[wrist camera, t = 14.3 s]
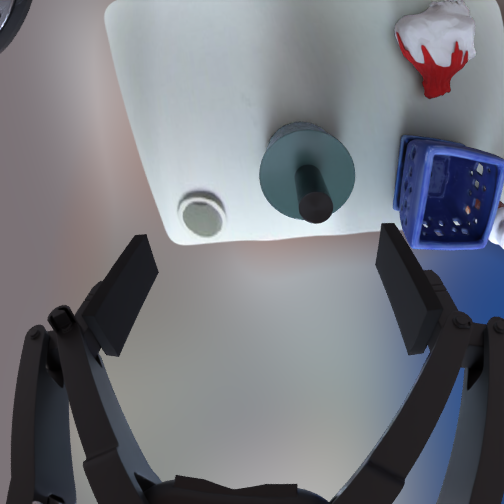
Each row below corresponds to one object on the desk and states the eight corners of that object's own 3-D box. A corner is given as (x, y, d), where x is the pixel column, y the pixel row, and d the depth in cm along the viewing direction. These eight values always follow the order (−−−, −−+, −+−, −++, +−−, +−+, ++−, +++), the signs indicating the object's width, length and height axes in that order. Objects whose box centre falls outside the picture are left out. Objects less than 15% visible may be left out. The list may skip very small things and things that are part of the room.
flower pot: (464, 135, 33) (511, 159, 23) (450, 212, 41) (486, 252, 31) (389, 123, 35) (427, 143, 25) (381, 209, 42) (408, 252, 32)
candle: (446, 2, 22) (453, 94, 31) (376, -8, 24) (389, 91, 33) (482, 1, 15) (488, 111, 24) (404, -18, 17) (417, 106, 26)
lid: (263, 217, 36) (258, 261, 28) (255, 130, 30) (247, 150, 22) (350, 214, 35) (369, 258, 27) (353, 128, 29) (379, 148, 21)
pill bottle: (457, 207, 40) (491, 242, 31) (477, 179, 37) (516, 210, 27) (474, 225, 41) (506, 261, 32) (494, 200, 38) (529, 232, 29)
